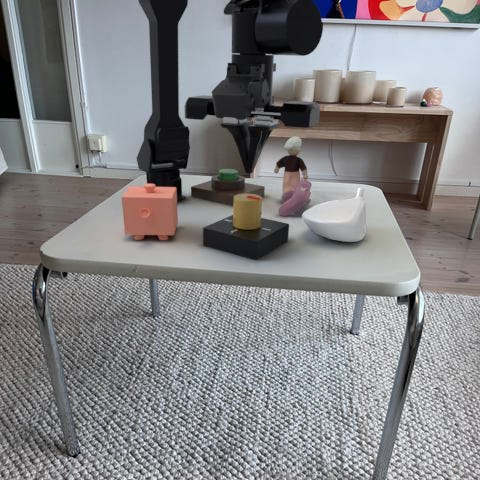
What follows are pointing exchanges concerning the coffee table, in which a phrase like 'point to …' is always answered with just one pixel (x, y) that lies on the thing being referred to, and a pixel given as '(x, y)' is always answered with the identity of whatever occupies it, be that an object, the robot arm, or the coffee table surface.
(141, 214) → the pink cube teapot
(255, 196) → the dimmer knob
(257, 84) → the robot arm
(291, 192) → the pink rounded piece
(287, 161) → the grandmother figurine
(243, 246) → the panel
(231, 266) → the coffee table surface
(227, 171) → the lamp switch
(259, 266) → the coffee table surface
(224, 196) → the lamp base
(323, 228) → the golf club head
